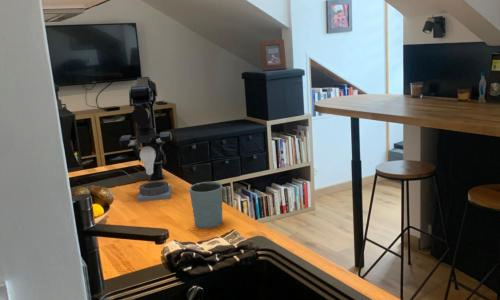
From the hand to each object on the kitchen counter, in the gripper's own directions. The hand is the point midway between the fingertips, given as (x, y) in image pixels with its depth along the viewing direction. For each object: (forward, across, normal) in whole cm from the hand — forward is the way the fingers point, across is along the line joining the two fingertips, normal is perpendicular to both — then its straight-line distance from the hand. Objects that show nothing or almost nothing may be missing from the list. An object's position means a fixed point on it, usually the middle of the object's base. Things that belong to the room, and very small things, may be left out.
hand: (148, 160), depth 179 cm
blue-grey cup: (+14, +20, -37) cm, 45 cm away
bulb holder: (+13, +1, -1) cm, 13 cm away
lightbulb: (+6, 0, 0) cm, 6 cm away
